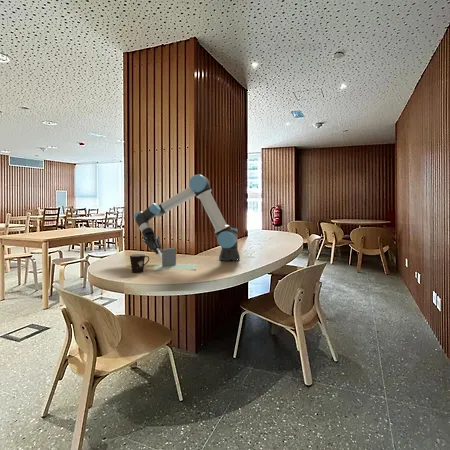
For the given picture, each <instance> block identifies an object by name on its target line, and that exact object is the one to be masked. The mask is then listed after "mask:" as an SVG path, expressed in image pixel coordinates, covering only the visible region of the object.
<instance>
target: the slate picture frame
mask: <svg viewBox="0 0 450 450" xmlns="http://www.w3.org/2000/svg"><path fill="white" fill-rule="evenodd" d="M161 253H162V258H161V264H162V266H163V267H167V266H173V265H176V264H177V263H176V262H177V248H176V247H170V248H161Z"/></svg>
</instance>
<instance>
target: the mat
mask: <svg viewBox="0 0 450 450" xmlns="http://www.w3.org/2000/svg"><path fill="white" fill-rule="evenodd" d="M175 270H178V271H179V270H181V271H183V270H185V271H186V270H188V271H191V270H192V271H197V265H196V263H176V265H173V266H167V267H163V266H162V263H161V264H160V263H159V264H155V265H154V266H153V268H152V271H175Z"/></svg>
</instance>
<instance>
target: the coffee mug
mask: <svg viewBox="0 0 450 450" xmlns="http://www.w3.org/2000/svg"><path fill="white" fill-rule="evenodd" d="M146 258H147V261H146V262H145V260H146ZM129 260H130V266H131V267H130V268H131V273H133V274H141V273H144V267H145V266H146V265H147V264H148V263H149V261H150V256H148V255H146V254H145V253H144V254H143V253H134V254H129Z"/></svg>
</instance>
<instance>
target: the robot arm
mask: <svg viewBox="0 0 450 450" xmlns="http://www.w3.org/2000/svg"><path fill="white" fill-rule="evenodd" d="M193 197H196V198H197V199H199V200H200V202H201V204H202V207H203V208H204V211H205V212H206V214H207V216H208V218H209V220H210V222H211V224H212V226H213V228H214V235H215V237H216V239H217V240H216V241H217V244H218V246H219V247H221V250H220V253H219V256H218V260H219V261H221V260H223V262H231V261H230V260H237V259H240V260H241V256H240V253H239V250H238V247H239V244H238V242H239V241H238V240H239V238H238V236H239V231H238V228H234V227H231V226H230V225H229V224H227V222H226V220H225V218H224V217H223V214H222V213H221V210H220V209H219V206H218V204H217V202H216V200H215V198H214V197H213V194H212V188H211V182H210V180H209V179H208V178H207V177H206V176H204V175H203V174H195V175H192V176H191V177H190V179H189V181H188V187H187V188H185V189H183V190H181V191H180V192H178V193H177V194H175V195H173V196H171V197H170V198H168V199H167V200H165V201H163V202H161V203H159V204H157V203H155V202H154V203H152V204H150V205H149V206H148V207H147V208H146V209H145V210H143V211H137V212H135V213H134V215H133V219H134V221H135V223H136V225H137V226H138V228H139V231H140V232H141V235H142V236H143V239H142V242H143V243H145V244H146V246H147V247H148V249H149V250H150V251H152V252H154V253H155V255H157V257H158V259H159V260H160V259H161V260H162V243H161V240H160V236H156V234H155V231H154V229H153V228H152V226H151V224H150V223H149V221H151V220H152V219H153V218H155V217H163V216H164V215H165V214H166V213H168V212H169V211H171V210H172V209H174V208H176V207H178V206H179V205H182V204H183V203H185V202H186V201H189V200H190V199H191V198H193Z"/></svg>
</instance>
